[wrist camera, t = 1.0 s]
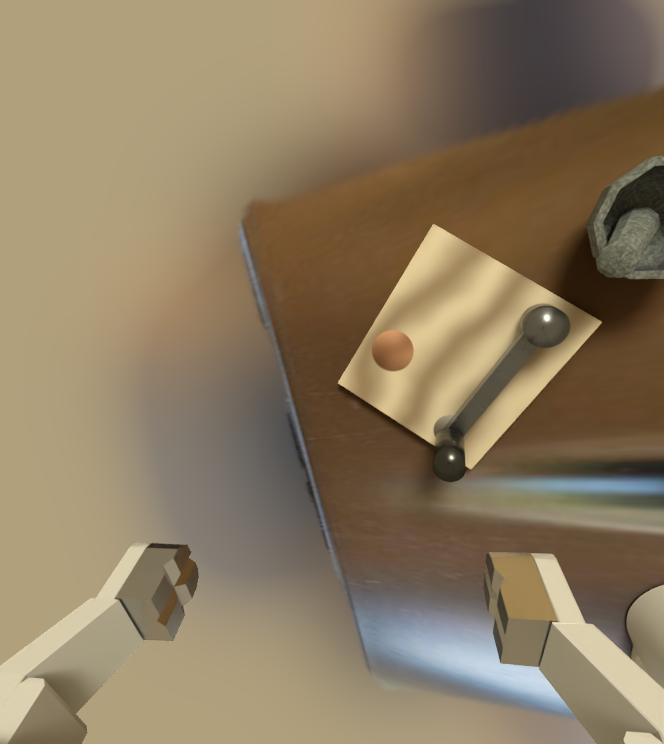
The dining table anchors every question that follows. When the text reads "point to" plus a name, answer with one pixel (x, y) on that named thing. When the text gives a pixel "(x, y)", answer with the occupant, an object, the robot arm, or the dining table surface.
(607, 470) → the dining table surface
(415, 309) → the lever board
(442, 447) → the lever
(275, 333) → the dining table surface
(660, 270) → the mortar and pestle
